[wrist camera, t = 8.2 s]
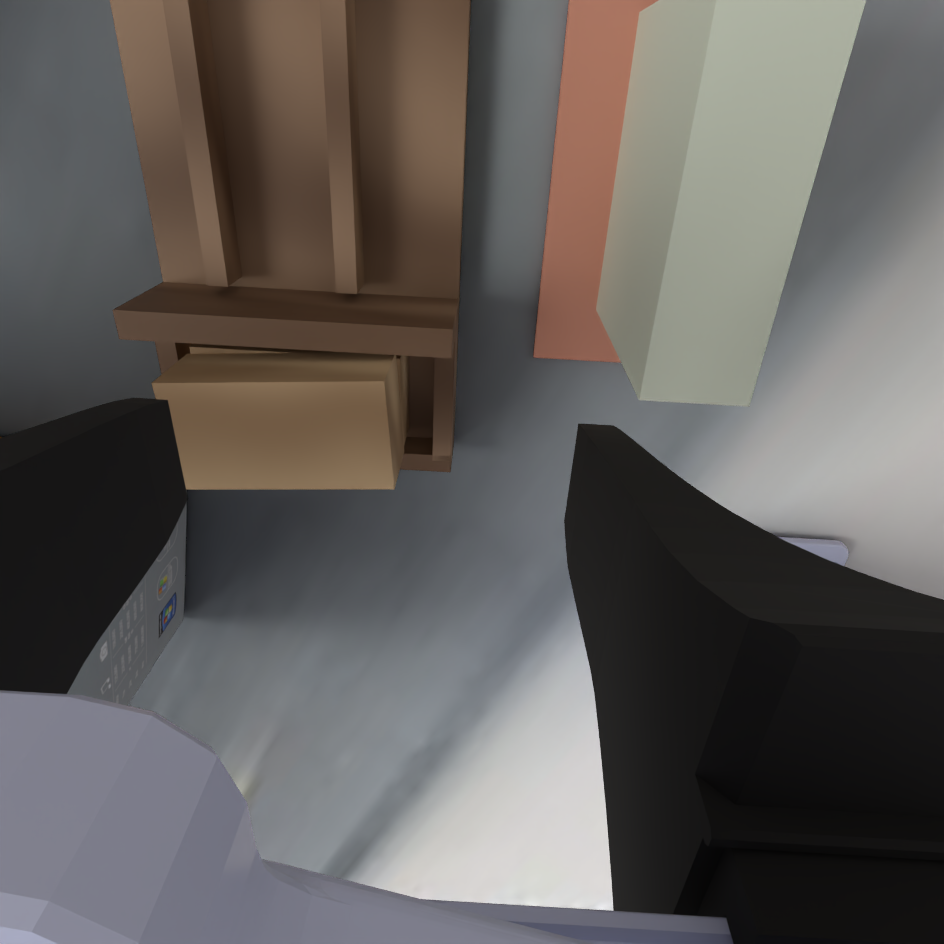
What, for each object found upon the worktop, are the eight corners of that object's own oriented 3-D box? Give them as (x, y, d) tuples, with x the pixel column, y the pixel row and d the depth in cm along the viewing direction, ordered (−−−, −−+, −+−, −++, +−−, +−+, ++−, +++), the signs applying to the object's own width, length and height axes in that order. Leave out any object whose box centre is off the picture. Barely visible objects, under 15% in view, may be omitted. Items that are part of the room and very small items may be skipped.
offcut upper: (404, 451, 20) (394, 489, 18) (212, 452, 20) (181, 489, 18) (396, 351, 18) (384, 381, 16) (187, 353, 18) (151, 383, 17)
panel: (673, 313, 20) (749, 406, 14) (596, 309, 20) (639, 400, 14) (734, 17, 16) (874, -31, 10) (639, 12, 16) (724, -40, 10)
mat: (715, 364, 21) (718, 367, 21) (533, 354, 21) (533, 357, 21) (822, -64, 16) (828, -66, 15) (576, -78, 16) (577, -80, 15)
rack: (453, 443, 23) (446, 501, 20) (202, 429, 23) (153, 484, 20) (475, -110, 15) (469, -167, 12) (101, -131, 15) (-5, -192, 12)
